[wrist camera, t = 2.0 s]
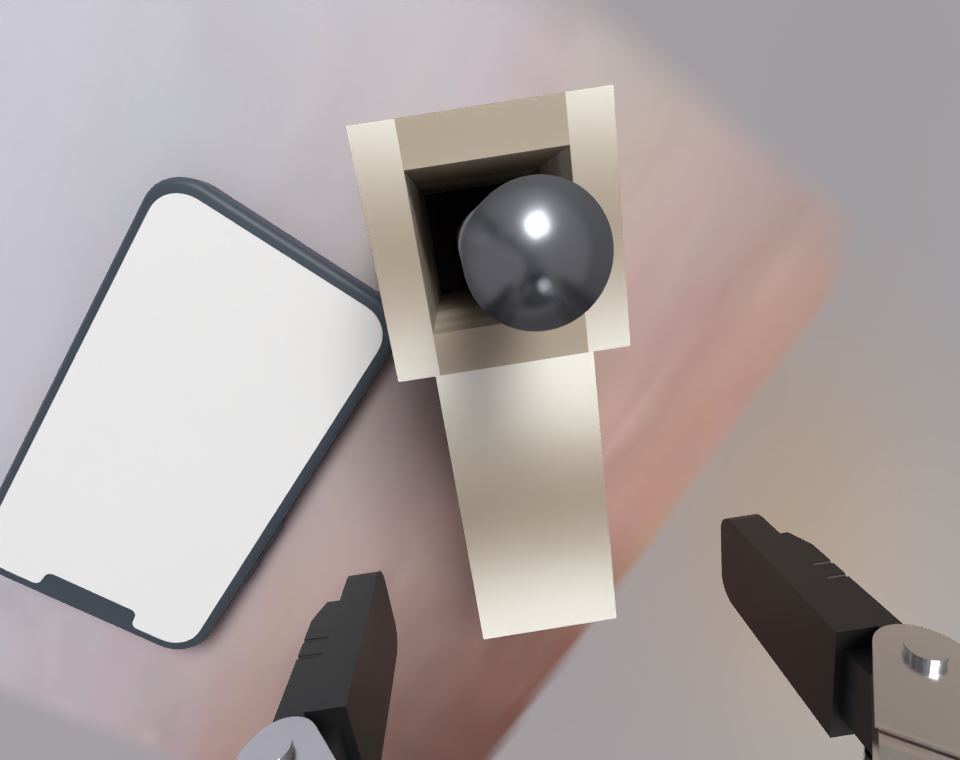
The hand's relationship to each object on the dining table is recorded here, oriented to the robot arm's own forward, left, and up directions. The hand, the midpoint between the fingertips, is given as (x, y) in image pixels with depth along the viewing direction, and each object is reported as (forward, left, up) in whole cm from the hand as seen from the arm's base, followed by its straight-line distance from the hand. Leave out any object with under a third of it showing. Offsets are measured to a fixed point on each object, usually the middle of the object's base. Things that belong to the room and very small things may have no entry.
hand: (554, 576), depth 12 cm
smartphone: (-3, -12, -8) cm, 14 cm away
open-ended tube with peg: (-4, 0, -7) cm, 8 cm away
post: (-8, 0, -7) cm, 11 cm away
